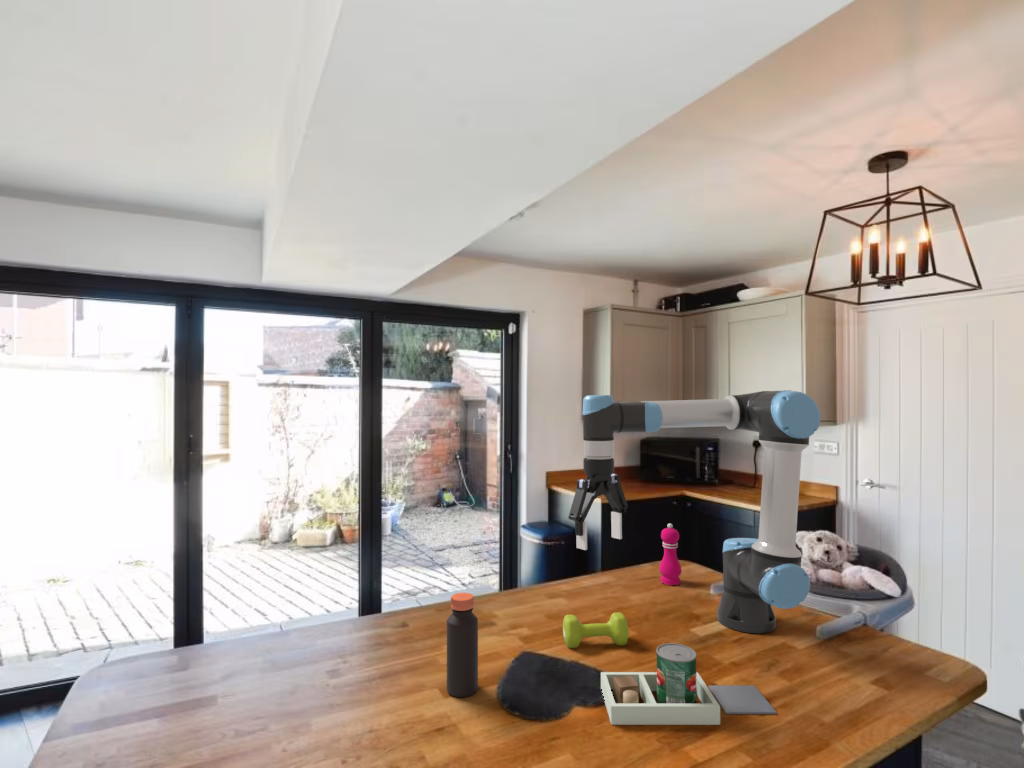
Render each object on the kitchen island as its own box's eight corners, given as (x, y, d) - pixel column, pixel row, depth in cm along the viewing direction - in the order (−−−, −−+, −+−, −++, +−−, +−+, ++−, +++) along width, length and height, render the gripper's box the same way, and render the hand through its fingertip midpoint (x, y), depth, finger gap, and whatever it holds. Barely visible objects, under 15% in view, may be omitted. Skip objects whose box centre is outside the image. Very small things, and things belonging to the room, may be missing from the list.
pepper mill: (682, 580, 187) (681, 521, 187) (681, 587, 180) (680, 526, 181) (660, 578, 189) (659, 520, 190) (658, 585, 183) (658, 525, 183)
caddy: (697, 688, 118) (697, 672, 118) (720, 724, 105) (720, 706, 105) (600, 688, 119) (600, 672, 119) (611, 724, 106) (611, 706, 106)
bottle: (470, 700, 114) (469, 604, 114) (440, 694, 116) (441, 600, 117) (482, 684, 120) (482, 593, 121) (455, 679, 123) (455, 589, 123)
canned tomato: (651, 696, 115) (650, 643, 116) (686, 694, 116) (686, 641, 117) (665, 718, 108) (665, 662, 108) (703, 715, 108) (703, 659, 109)
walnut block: (631, 694, 116) (631, 675, 116) (638, 705, 112) (638, 685, 112) (613, 696, 116) (613, 677, 116) (620, 707, 112) (619, 687, 112)
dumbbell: (622, 635, 145) (621, 608, 145) (631, 649, 137) (631, 620, 137) (560, 638, 143) (560, 610, 143) (566, 652, 135) (566, 623, 135)
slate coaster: (754, 687, 119) (754, 685, 119) (776, 714, 109) (776, 712, 109) (708, 687, 119) (708, 685, 119) (726, 714, 109) (726, 712, 109)
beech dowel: (636, 709, 110) (636, 689, 111) (640, 718, 108) (639, 698, 108) (621, 709, 111) (621, 689, 111) (624, 718, 108) (624, 698, 108)
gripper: (617, 452, 147) (618, 531, 146) (552, 460, 130) (554, 550, 129) (640, 454, 141) (642, 536, 141) (576, 463, 124) (578, 557, 124)
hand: (599, 543), depth 135 cm, fingers open, 13 cm apart
